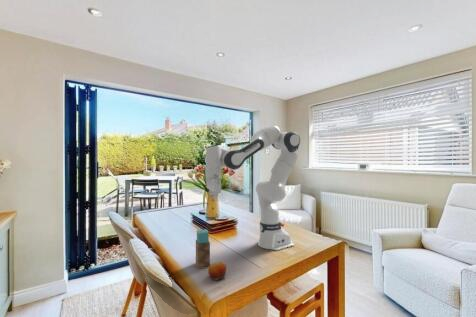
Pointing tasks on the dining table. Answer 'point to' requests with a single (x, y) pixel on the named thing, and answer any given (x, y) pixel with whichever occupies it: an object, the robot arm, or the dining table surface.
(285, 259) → the dining table surface
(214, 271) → the fruit
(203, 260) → the block
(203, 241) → the teal block
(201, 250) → the tower top
